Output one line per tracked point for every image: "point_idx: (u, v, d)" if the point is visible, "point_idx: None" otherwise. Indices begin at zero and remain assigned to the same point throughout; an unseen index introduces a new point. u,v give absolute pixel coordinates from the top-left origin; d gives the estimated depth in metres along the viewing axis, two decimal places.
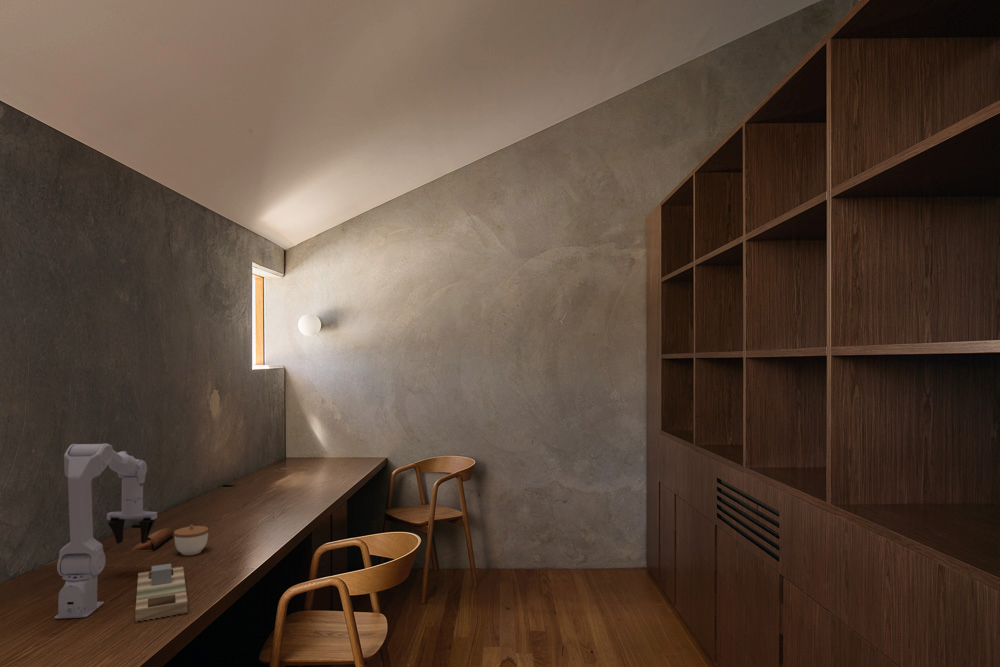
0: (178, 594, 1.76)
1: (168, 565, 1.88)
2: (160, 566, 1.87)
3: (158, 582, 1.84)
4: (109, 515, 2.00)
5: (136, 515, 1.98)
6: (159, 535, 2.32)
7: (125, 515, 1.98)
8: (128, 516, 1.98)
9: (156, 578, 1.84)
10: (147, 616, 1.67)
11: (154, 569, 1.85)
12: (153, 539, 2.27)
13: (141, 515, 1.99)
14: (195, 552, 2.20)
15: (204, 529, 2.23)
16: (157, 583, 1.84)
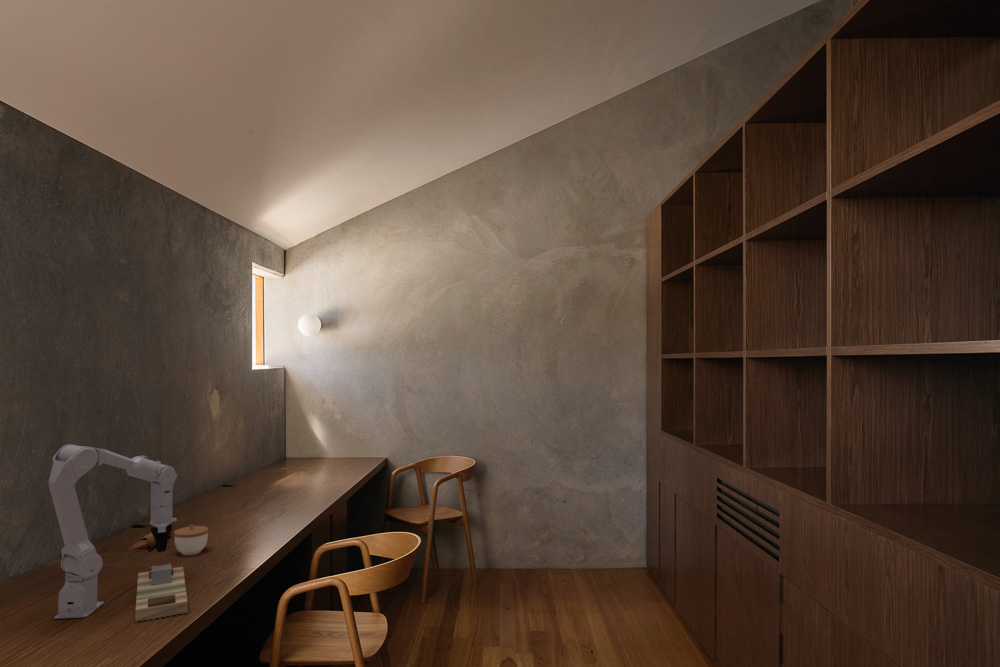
0: (178, 594, 1.76)
1: (168, 565, 1.88)
2: (160, 566, 1.87)
3: (158, 582, 1.84)
4: None
5: (153, 524, 1.90)
6: None
7: (150, 521, 1.92)
8: (150, 523, 1.91)
9: (156, 578, 1.84)
10: (147, 616, 1.67)
11: (154, 569, 1.85)
12: (149, 539, 2.27)
13: (154, 525, 1.89)
14: (195, 552, 2.20)
15: (204, 529, 2.23)
16: (157, 583, 1.84)
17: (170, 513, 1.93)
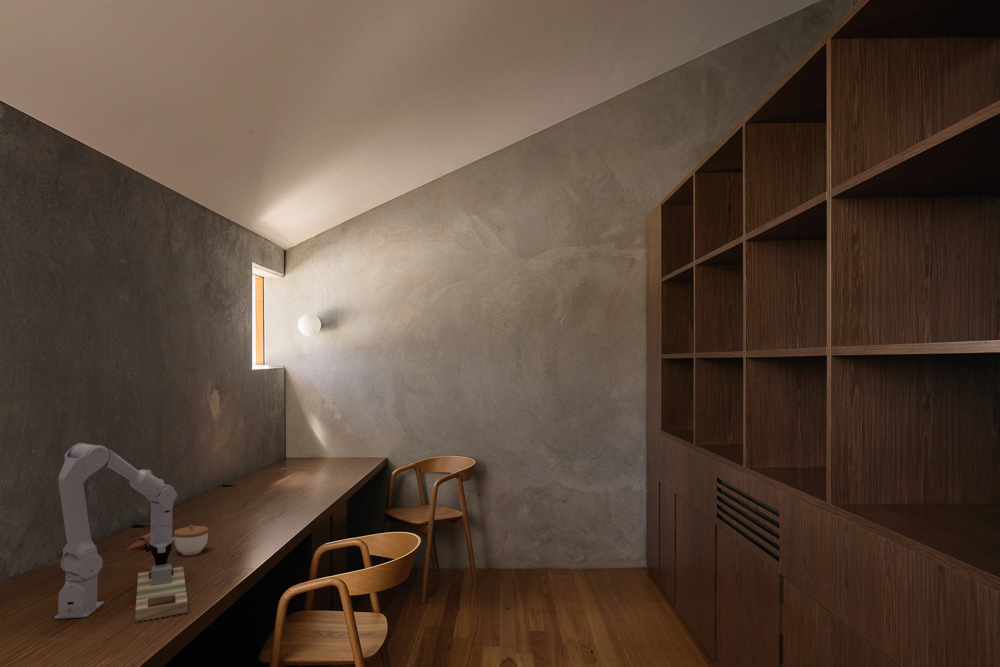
0: (178, 594, 1.76)
1: (168, 565, 1.88)
2: (160, 566, 1.87)
3: (158, 582, 1.84)
4: None
5: (152, 544, 1.89)
6: None
7: (150, 541, 1.92)
8: (150, 542, 1.91)
9: (156, 578, 1.84)
10: (147, 616, 1.67)
11: (154, 569, 1.85)
12: (147, 539, 2.27)
13: (154, 545, 1.88)
14: (195, 552, 2.20)
15: (204, 529, 2.23)
16: (157, 583, 1.84)
17: (170, 533, 1.92)
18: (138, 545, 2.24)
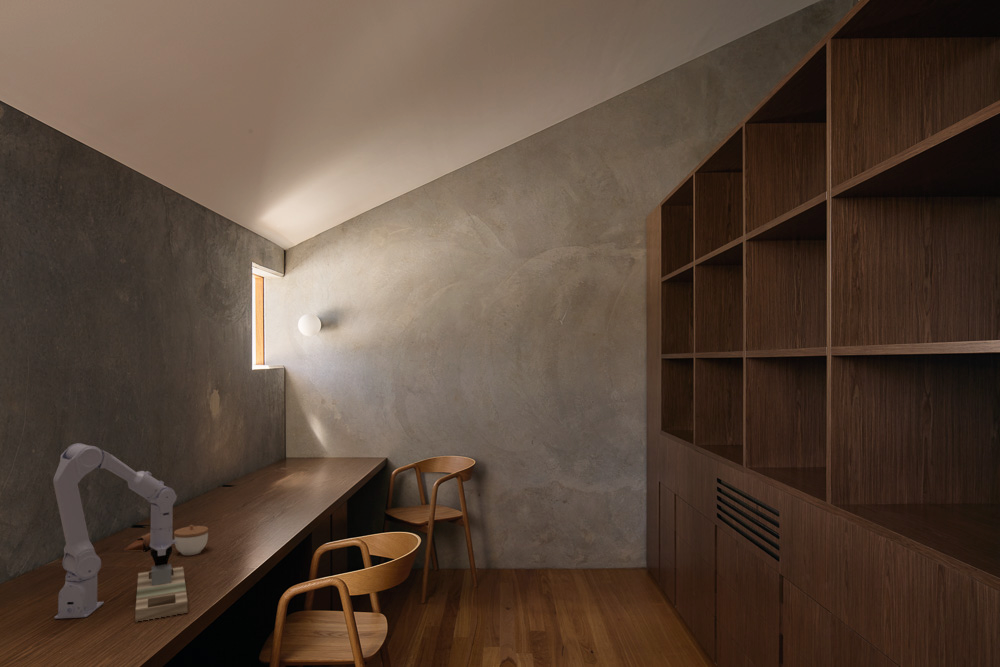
0: (178, 594, 1.76)
1: (168, 565, 1.88)
2: (160, 566, 1.87)
3: (158, 582, 1.84)
4: None
5: (152, 546, 1.87)
6: None
7: (150, 543, 1.89)
8: None
9: (156, 578, 1.83)
10: (147, 616, 1.67)
11: (154, 569, 1.85)
12: (146, 539, 2.27)
13: (154, 548, 1.86)
14: (195, 552, 2.20)
15: (204, 529, 2.23)
16: (157, 583, 1.84)
17: (170, 535, 1.90)
18: (136, 545, 2.24)
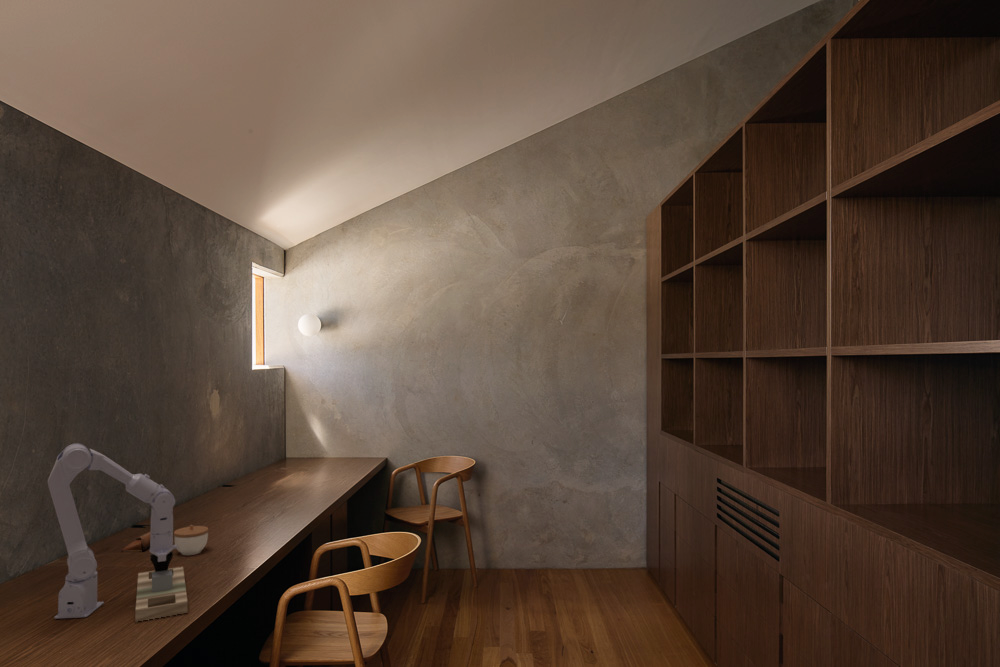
0: (178, 594, 1.76)
1: (169, 571, 1.83)
2: (161, 572, 1.82)
3: (159, 589, 1.79)
4: None
5: (152, 552, 1.82)
6: None
7: None
8: None
9: (156, 584, 1.78)
10: (147, 616, 1.67)
11: (154, 575, 1.80)
12: (144, 539, 2.27)
13: (154, 553, 1.81)
14: (195, 552, 2.20)
15: (204, 529, 2.23)
16: (158, 590, 1.79)
17: (170, 540, 1.85)
18: (135, 545, 2.24)
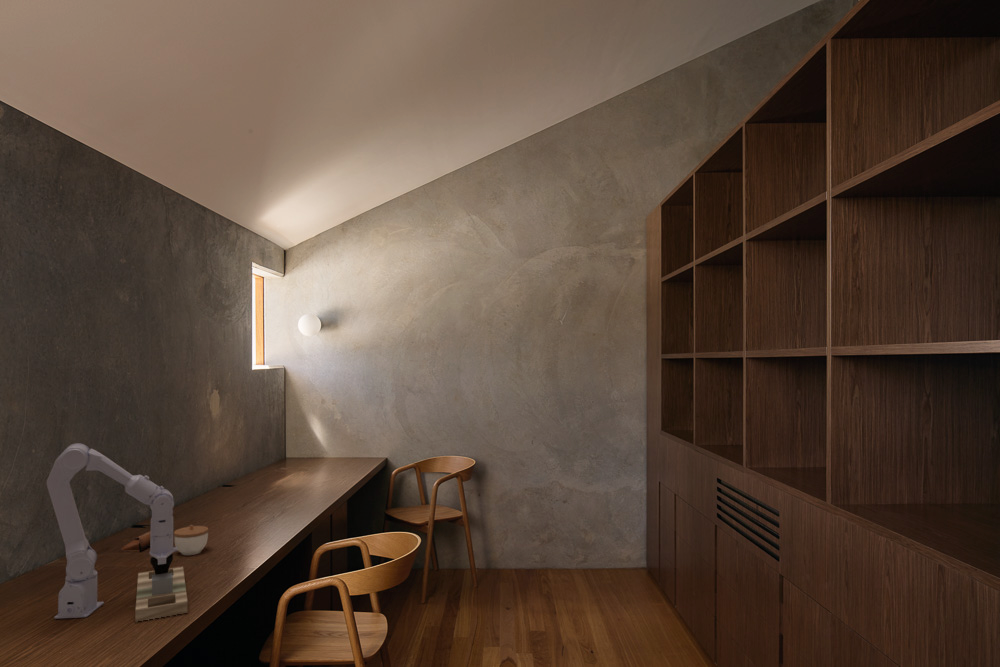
0: (178, 594, 1.76)
1: (169, 574, 1.81)
2: (161, 575, 1.80)
3: (159, 592, 1.76)
4: None
5: (152, 554, 1.79)
6: None
7: None
8: (149, 553, 1.81)
9: (156, 587, 1.76)
10: (147, 616, 1.67)
11: (154, 578, 1.78)
12: (142, 539, 2.27)
13: (154, 556, 1.78)
14: (195, 552, 2.20)
15: (204, 529, 2.23)
16: (158, 593, 1.76)
17: (171, 543, 1.82)
18: (132, 545, 2.24)
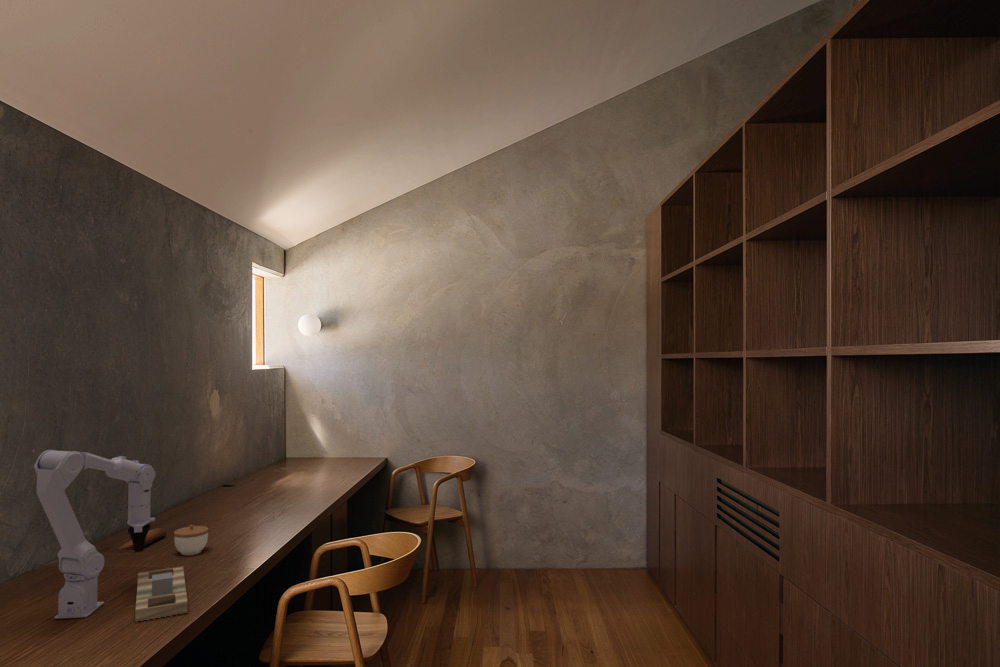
0: (178, 594, 1.76)
1: (169, 574, 1.81)
2: (161, 575, 1.80)
3: (159, 592, 1.76)
4: None
5: (129, 523, 1.87)
6: (147, 535, 2.31)
7: (127, 521, 1.90)
8: (127, 522, 1.89)
9: (156, 587, 1.76)
10: (147, 616, 1.67)
11: (154, 578, 1.78)
12: None
13: (131, 525, 1.86)
14: (195, 552, 2.20)
15: (204, 529, 2.23)
16: (158, 593, 1.76)
17: (148, 513, 1.90)
18: (129, 545, 2.24)
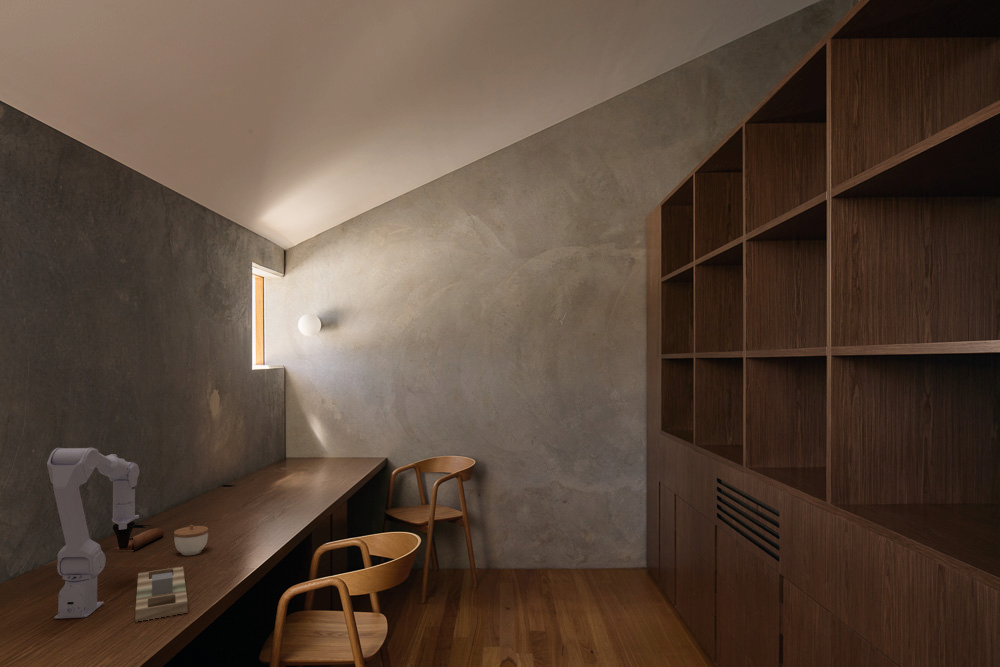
0: (178, 594, 1.76)
1: (169, 574, 1.81)
2: (161, 575, 1.80)
3: (159, 592, 1.76)
4: None
5: (114, 521, 1.91)
6: (144, 535, 2.31)
7: (112, 518, 1.93)
8: (112, 520, 1.92)
9: (156, 587, 1.76)
10: (147, 616, 1.67)
11: (154, 578, 1.78)
12: (136, 539, 2.27)
13: (115, 522, 1.90)
14: (195, 552, 2.20)
15: (204, 529, 2.23)
16: (158, 593, 1.76)
17: (132, 510, 1.94)
18: None
